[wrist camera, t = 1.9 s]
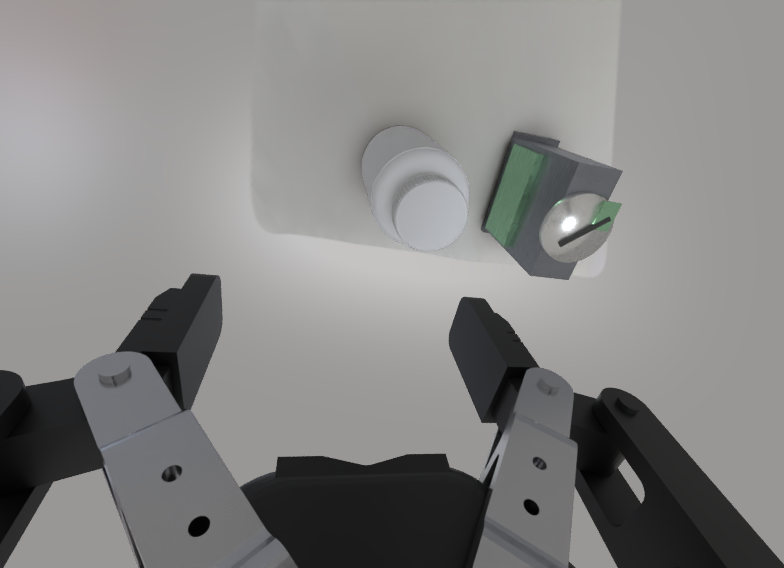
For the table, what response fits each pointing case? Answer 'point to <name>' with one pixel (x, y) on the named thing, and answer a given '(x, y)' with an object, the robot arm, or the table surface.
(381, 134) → the pill bottle
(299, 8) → the table surface
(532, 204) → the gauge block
